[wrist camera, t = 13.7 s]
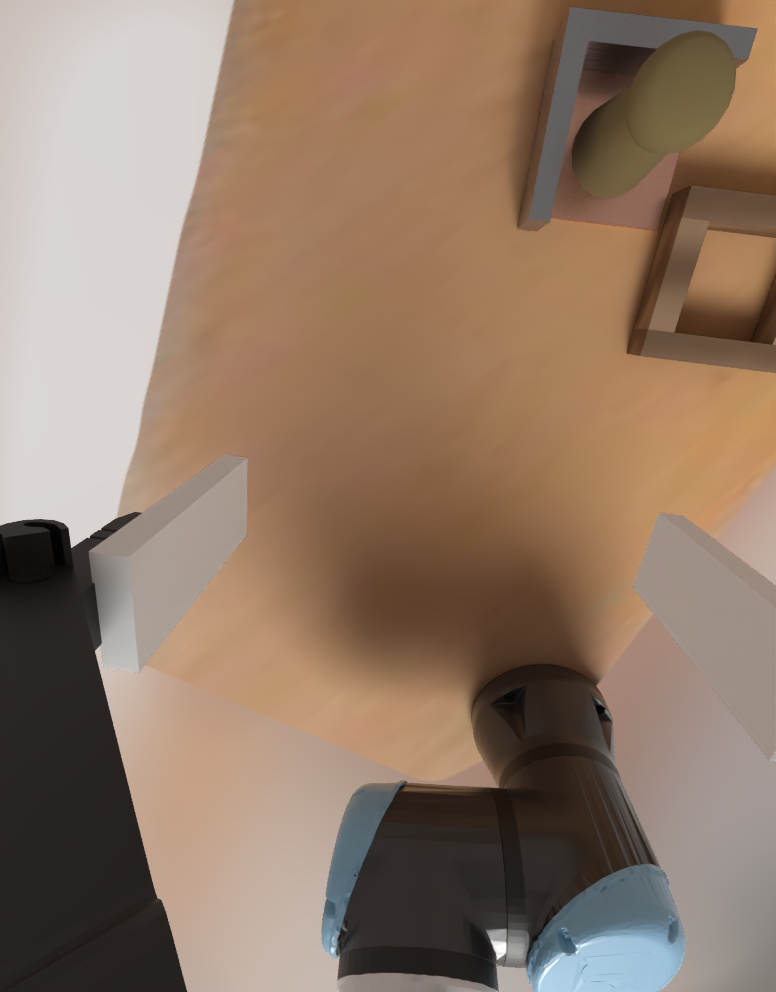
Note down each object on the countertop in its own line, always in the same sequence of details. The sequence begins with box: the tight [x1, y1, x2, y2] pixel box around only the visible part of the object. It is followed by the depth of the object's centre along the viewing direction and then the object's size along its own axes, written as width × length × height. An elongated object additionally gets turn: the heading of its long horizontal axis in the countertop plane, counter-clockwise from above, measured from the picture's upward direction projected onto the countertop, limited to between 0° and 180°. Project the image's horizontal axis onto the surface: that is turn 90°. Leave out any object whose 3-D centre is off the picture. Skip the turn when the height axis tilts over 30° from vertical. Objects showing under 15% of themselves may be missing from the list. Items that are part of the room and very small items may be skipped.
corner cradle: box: [518, 7, 758, 231], centre depth 33 cm, size 12×12×4 cm
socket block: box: [627, 185, 776, 373], centre depth 36 cm, size 12×12×3 cm
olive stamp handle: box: [572, 30, 736, 198], centre depth 29 cm, size 6×6×11 cm
